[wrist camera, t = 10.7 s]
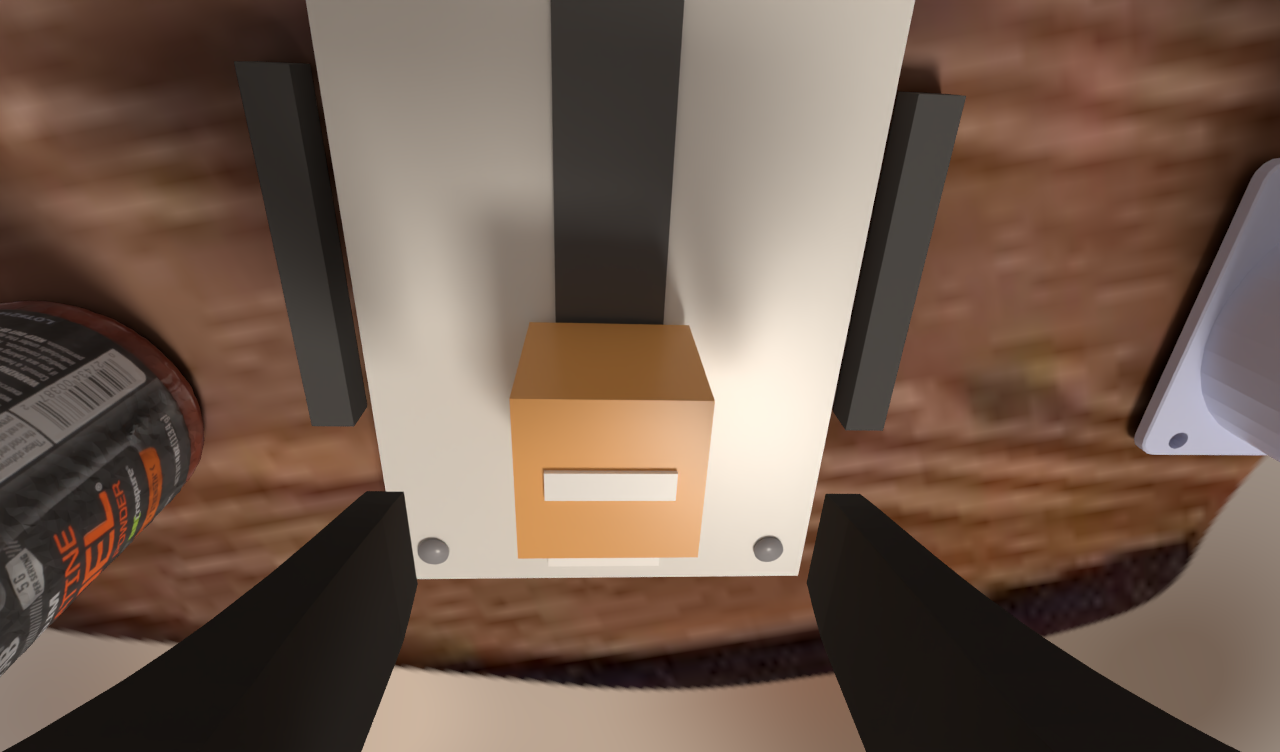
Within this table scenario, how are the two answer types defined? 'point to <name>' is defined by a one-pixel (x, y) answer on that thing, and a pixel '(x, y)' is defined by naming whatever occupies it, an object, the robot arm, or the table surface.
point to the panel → (605, 235)
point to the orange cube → (609, 441)
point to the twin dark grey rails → (319, 285)
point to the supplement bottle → (80, 455)
